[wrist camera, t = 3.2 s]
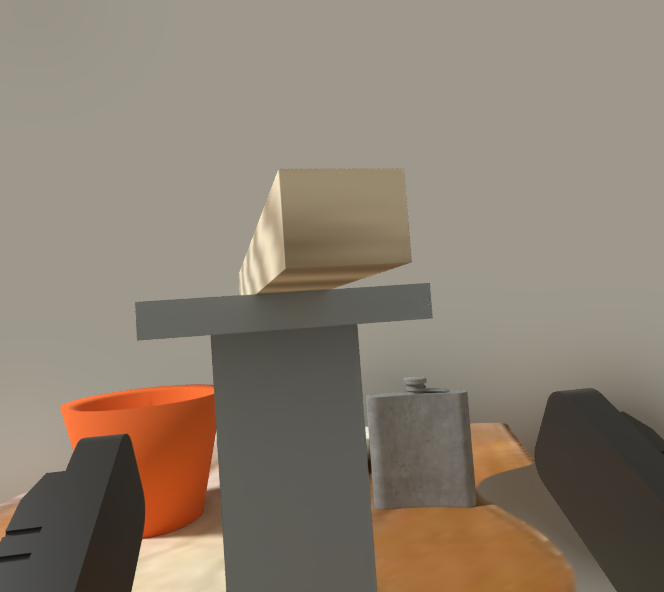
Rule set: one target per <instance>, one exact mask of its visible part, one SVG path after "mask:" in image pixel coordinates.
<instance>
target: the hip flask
mask: <svg viewBox="0 0 664 592" xmlns="http://www.w3.org/2000/svg"><path fill="white" fill-rule="evenodd" d="M424 383H426V378H425V377H407V378H404V384H406V391H407V392H395V393H382V394H371V395H367V396H366V401H367V413H368V427H369V441H370V454H371V467H372V480H373V494H374V506H375V508H377V509H380V510H387V509H397V508H413V507H461V508H471V507H474V506H476V505H477V502H476V490H475V478H474V466H473V454H472V442H471V430H470V419H469V408H468V395H467V391H466V390H447V389H437V388H436V389H435V388H426V386H424Z"/></svg>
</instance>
